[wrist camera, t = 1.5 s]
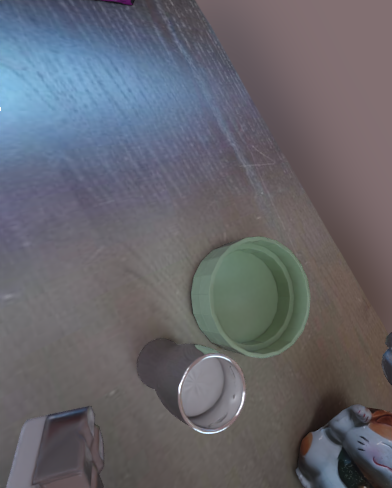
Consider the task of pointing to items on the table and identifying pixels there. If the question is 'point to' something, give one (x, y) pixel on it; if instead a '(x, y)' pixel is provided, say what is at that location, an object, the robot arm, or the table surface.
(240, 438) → the table surface
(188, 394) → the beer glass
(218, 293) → the green pan
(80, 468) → the robot arm
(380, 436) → the lucky cat figurine
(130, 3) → the candy bar box
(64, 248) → the table surface
